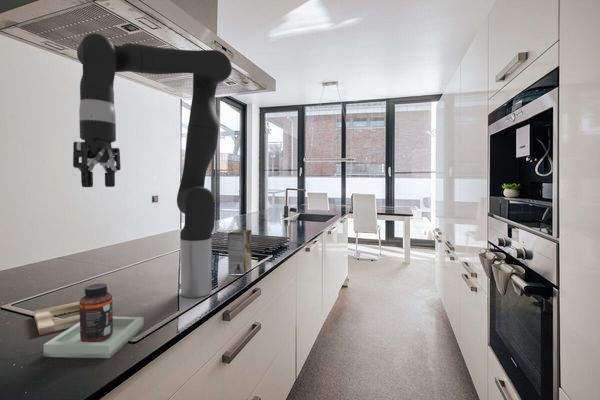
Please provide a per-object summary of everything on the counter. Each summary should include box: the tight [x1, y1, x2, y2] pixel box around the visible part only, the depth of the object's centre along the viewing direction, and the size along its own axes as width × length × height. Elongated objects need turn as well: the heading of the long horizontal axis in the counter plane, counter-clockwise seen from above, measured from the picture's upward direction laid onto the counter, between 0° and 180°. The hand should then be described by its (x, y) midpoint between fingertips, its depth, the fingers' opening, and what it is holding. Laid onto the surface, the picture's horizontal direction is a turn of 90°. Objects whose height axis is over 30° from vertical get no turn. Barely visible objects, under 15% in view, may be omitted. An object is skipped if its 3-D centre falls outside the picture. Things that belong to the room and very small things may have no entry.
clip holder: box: [33, 300, 80, 336], centre depth 79 cm, size 13×13×2 cm
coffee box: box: [227, 229, 253, 276], centre depth 120 cm, size 9×6×16 cm
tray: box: [42, 316, 145, 359], centre depth 67 cm, size 13×13×2 cm
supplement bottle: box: [79, 282, 114, 342], centre depth 67 cm, size 6×6×11 cm
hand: (99, 187), depth 78 cm, fingers open, 8 cm apart
